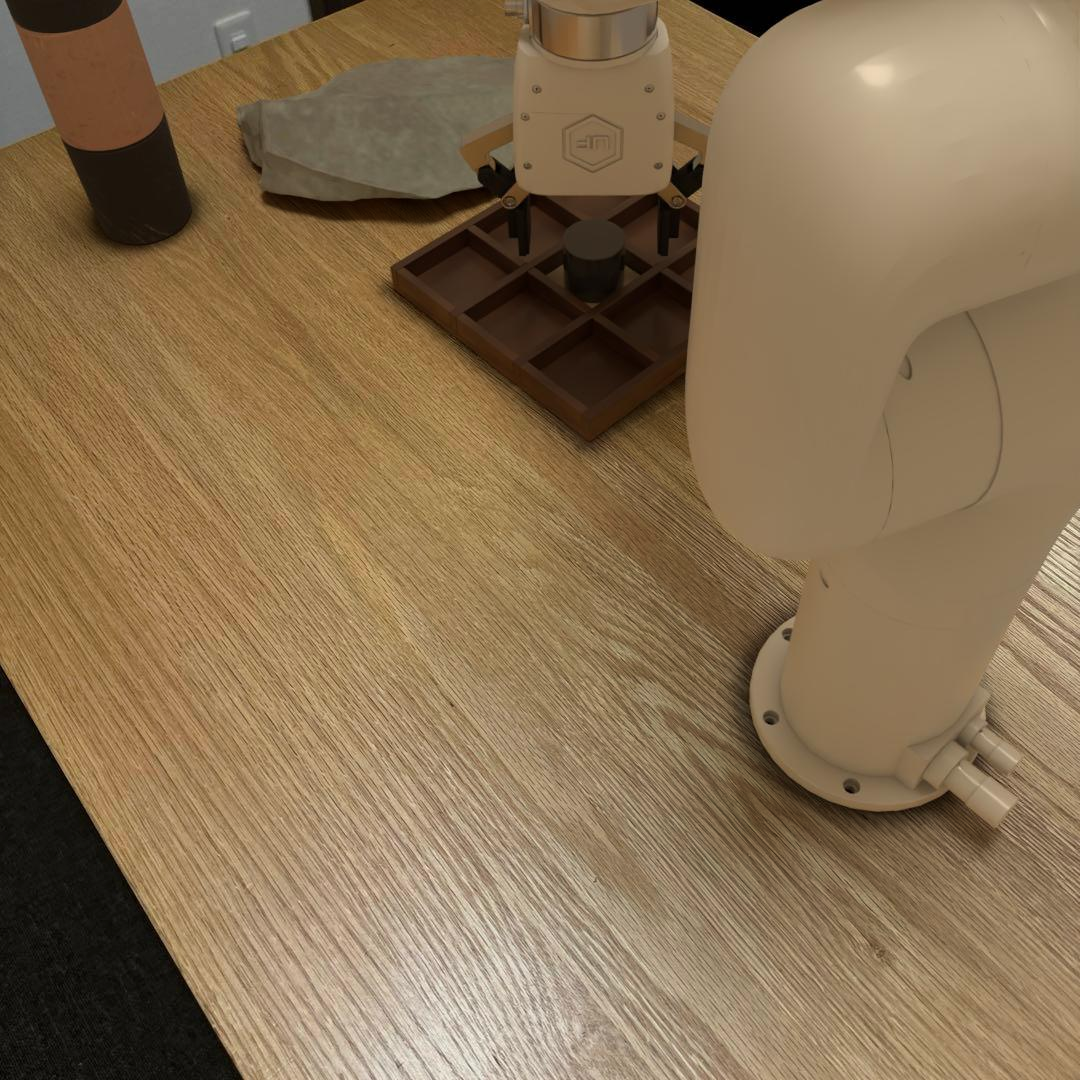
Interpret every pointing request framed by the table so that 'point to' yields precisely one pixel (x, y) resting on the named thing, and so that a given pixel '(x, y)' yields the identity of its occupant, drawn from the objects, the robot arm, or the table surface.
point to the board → (563, 305)
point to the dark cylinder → (593, 259)
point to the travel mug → (107, 113)
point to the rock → (380, 129)
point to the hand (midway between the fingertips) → (593, 243)
